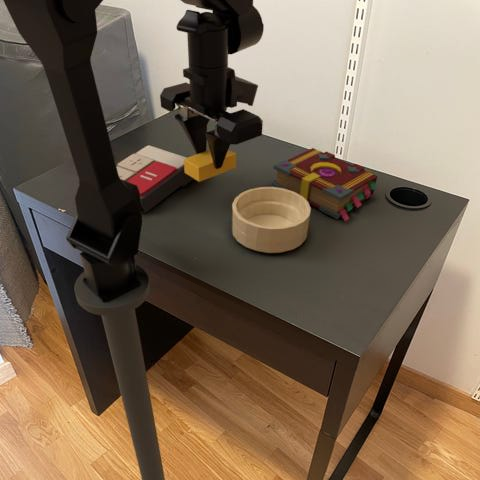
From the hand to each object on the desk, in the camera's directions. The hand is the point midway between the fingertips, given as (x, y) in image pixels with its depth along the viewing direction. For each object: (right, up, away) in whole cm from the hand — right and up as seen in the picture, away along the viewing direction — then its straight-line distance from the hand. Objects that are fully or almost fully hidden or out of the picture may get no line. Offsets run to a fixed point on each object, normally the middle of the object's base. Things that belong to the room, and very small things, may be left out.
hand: (210, 163), depth 81 cm
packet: (0, -1, +1) cm, 1 cm away
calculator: (-12, -2, +8) cm, 14 cm away
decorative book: (+20, -3, +8) cm, 22 cm away
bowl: (+10, -12, -2) cm, 16 cm away
